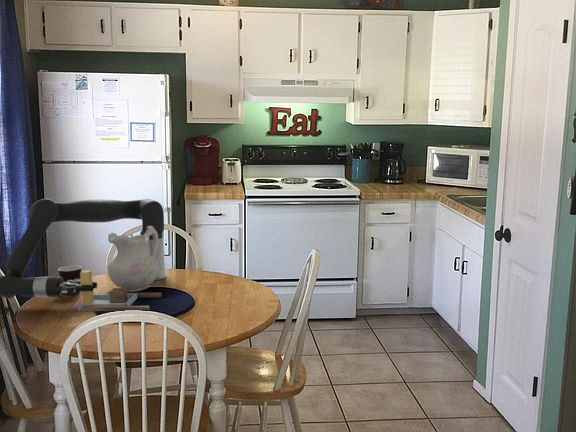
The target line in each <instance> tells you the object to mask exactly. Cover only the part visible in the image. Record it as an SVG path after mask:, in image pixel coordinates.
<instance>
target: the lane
mask: <svg viewBox="0 0 576 432" xmlns="http://www.w3.org/2000/svg"><path fill="white" fill-rule="evenodd" d="M97 294H109V292H99V293H97ZM127 294H138V298H161V297H162V292H127ZM150 309H151V308H150V305H130V306H83V307H82V308H81V310H80V311H81V312H122V311H121V310H147V311H150ZM147 311H146V312H147Z"/></svg>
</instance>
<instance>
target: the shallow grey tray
mask: <svg viewBox="0 0 576 432" xmlns="http://www.w3.org/2000/svg"><path fill="white" fill-rule="evenodd" d="M80 276H81V285H82V286H83V285H92V282H93V277H92V276H93V273H92V270H90V269H89V270H81V272H80ZM138 298H139V297H138V294H128V301H127V302H126V303H110V296H109V294H98V293H94V290H93V291H83V292H81V299H82V303H77V312H80V311H81V308H82V307H83V306H132V304H133V303H134V302H136V300H137V299H138Z"/></svg>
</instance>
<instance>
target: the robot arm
mask: <svg viewBox="0 0 576 432" xmlns="http://www.w3.org/2000/svg"><path fill="white" fill-rule="evenodd" d="M29 216H30V221H29V223H28V226H27V228H26V230H25V232H24V233H23V235H22V237H21V238H20V240H19V241H18V242H17V244H16V246H15V247H14V248H13V250H12V252H11V254H10V256H9V258H8V260H7V262H6V265H5V269H6V270H7V273H6V275H0V297H2V298H5V299H12V298H15V297H16V295H17V296H22V297H26V298H27V297H31V298H32V297H35V298H37V297H38V298H61V297H62V298H63V296H70V295H69V294H76V295H79V294H80V293H82V292H83V291H93V292H94V290H95V289H97V288H98V283H97V281H92V285H83V286H82V285H81V279H74V281H73V280H68V281H67V282H65V281H64V279H63V278H62V277H60V276H38V277H36V276H35V277H31V276H30V277H24V275H25V271H26V269H27V268H28V266H29V264H30V262H31V260H32V258H33V255H34V253H35V252H36V249H37V248H38V245H39V243H40V242H41V240H42V239H43V236H44V234H45V233H46V231H48V228H49V227H50V225H51V224H52V223H57V222H58V223H59V222H76V223H110V222H115V221H119V220H124V219H125V220H126V219H130V220H131V219H133V220H134V219H135V220H141V221H142V223H141V224H142V229H141V231H140V233H139V235H144V234H145V232H146V227H147V226H151V225H152V226H153V228H154V229H155V230H156V231H157V234H158V247H157V251H156V253H155V259H156V261H157V262H158V266H159V271H158V275H157V277H156V279H155V280H154V281H157V280H162V279H165V278H166V264H165V263H166V262H165V250H164V249H165V248H164V247H165V245H164V236H163V235H164V231H165V217H164V216H165V213H164V208H163V206H162V204H161V203H160V202H158V201H157V200H155V199H154V200H153V199H150V198H144V199H135V200H118V199H117V200H115V199H100V198H99V199H93V198H92V199H82V200H75V201H70V202H60V201H54V200H52V199H50V198H41V199H39V200H36V201H35V202H33V203H32V204H31V206H30V207H29ZM152 246H153V236H152V235H151V236H149V242H148V245H147V252H148V254H149V255H151V251H152ZM79 292H80V293H79ZM78 293H79V294H78Z"/></svg>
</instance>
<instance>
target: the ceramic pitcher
mask: <svg viewBox="0 0 576 432" xmlns="http://www.w3.org/2000/svg"><path fill="white" fill-rule="evenodd" d="M107 235H108V238H107V241H108V242H109V243H110V244H113V245H115V248H116V250H117V255H116V256H115V257H114V258H113V259H112V260H111V261H110V262H109V263H108V265H107V273H108V277H109V279H110V281H111V282H112V284H113V285H114V286H116V287H117V288H127V293H134V292H140V291H143V290H146V289H148V288H150V287H149V285H152V284H153V282H155V281H156V280H155V279H156V277H157V275H158V271H159V266H158V262H157V261H156V259H155V253H156V251H157V247H158V234H157V231H156V230H155V229H154V228H153V226H152V225H151V226H147V227H146V232H145V234H144V235H140V234H137V235H134V236H127V235H126V234H121V235H118V234H117V233H114V232H110V233H108V234H107ZM151 235H152V236H153V246H152V251H151V255H149V254H148V252H147V245H148V242H149V236H151Z"/></svg>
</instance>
